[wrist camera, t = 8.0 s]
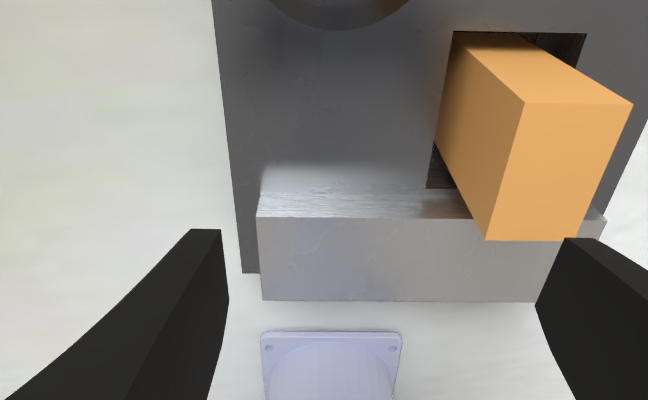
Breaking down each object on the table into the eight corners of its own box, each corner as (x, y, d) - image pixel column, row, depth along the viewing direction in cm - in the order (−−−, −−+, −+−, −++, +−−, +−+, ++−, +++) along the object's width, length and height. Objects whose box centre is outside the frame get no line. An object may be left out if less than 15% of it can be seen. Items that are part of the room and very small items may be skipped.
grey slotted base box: (543, 232, 21) (593, 302, 17) (251, 229, 20) (236, 300, 17) (720, -228, 12) (906, -295, 8) (209, -245, 12) (156, -321, 8)
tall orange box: (490, 134, 18) (573, 241, 12) (430, 133, 18) (485, 240, 12) (515, 33, 16) (633, 104, 10) (447, 32, 16) (525, 102, 10)
